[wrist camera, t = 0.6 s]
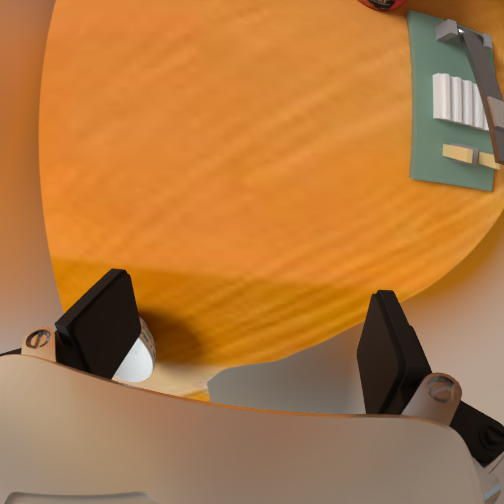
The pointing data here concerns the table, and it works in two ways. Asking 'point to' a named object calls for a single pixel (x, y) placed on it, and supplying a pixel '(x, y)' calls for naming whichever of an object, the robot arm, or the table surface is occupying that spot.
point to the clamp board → (447, 107)
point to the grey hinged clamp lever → (486, 89)
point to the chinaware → (139, 358)
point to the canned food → (382, 4)
